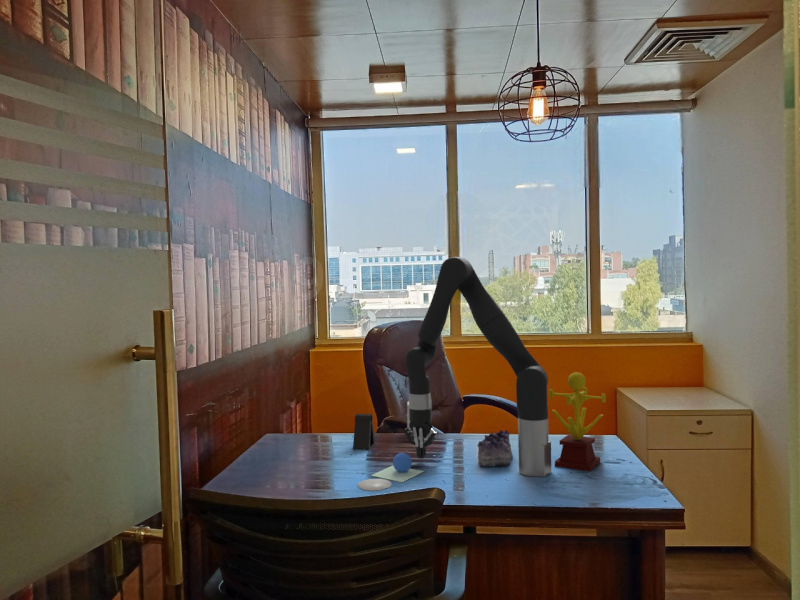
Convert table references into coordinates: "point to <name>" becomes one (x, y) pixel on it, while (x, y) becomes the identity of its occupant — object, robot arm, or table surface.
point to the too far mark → (374, 484)
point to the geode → (495, 450)
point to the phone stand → (363, 432)
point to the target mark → (396, 474)
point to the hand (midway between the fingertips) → (421, 457)
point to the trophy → (577, 429)
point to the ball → (402, 462)
